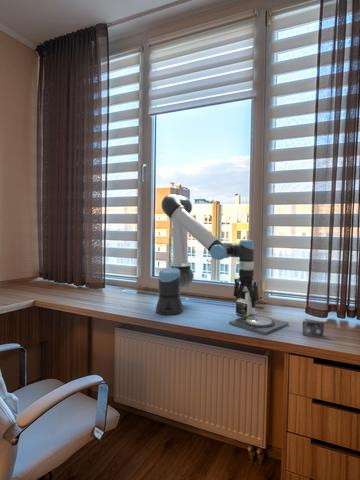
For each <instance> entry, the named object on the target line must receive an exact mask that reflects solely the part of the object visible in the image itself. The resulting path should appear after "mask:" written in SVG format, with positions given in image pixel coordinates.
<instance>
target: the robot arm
mask: <svg viewBox="0 0 360 480" xmlns="http://www.w3.org/2000/svg"><path fill="white" fill-rule="evenodd" d="M160 205H161V209H162V211H163V212H164V214H165V215H166V216H167V217H168V218H169V220H170V221H171V225H172V226H171V227H172V263H171V265H170V267H166V268H162V269H160V270H159V272H158V299H157V302H156V306H155V312H156V313H157V314H159V313H160V314H159V315H163V314H166V315H165V316H174V314H176V315H180V314H182V313H184V306H183V303H182V299H181V289H183V288H184V289H185V288H187V287H188V286H190V285H191V284H192V283H193V281H194V278H195V277H194V275H195V274H194V271H193V270H192V268H191V264H190V263H189V259H188V257H189V256H188V253H189V251H188V233H189V234H190V236H192V237H193V238H194V239H195V240H196V241H197V242H198V243H199V244H201V246H203V247H204V248H205V249H206V251H208V252H209V254H210V257H211V258H212V259H213V260H216V261H217V260H218V261H221V260H224V259H228V258H239V261H238V265H239V266H238V267H239V269H238V276H239V277H237V278H234V287H233V288H234V289H233V297H234V298H236V301H237V300H240V293H241V292H243V291H244V289H245V288H247V291H248V292H249V295H250V298H251V301H250V314H253V313H254V314H255V309H254V307H255V308H256V302H258V301H259V300H260V297H259V296H260V295H259V287H258V286H259V281H256V280H254V274H255V273H254V272H255V271H254V267H255V265H254V264H255V259H254V257H255V243H254V240H252V239H240V240H239V242H238V243H234V242H233V243H232V242H221V241H220V240H219V239H218V238H217V237H216V236H215V235H213V233H211V232H210V231H209V230H207V228H206V227H205V226H203V224H201V223H200V222H199V221H198V220H197V219H196V218H194V216H192V215H191V214H190V213H191V212H192V211H193V204H192V202H191V199H189V198H188V197H187V196H184V195H178V194H174V193H173V194H171V193H170V194H167V195H166V196H165V197H164V198H163V199H162V200H161V204H160Z"/></svg>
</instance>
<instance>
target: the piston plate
mask: <svg viewBox="0 0 360 480" xmlns="http://www.w3.org/2000/svg"><path fill="white" fill-rule="evenodd" d="M228 324H229V325H230V326H234V327H237V328H241V329H243V330H247V331H251V332H253V331H254V332H253V333H256V334H260V333H261V334H260V335H263V334H264V336H267V335H269V334H272V333H273V332H275V331H278V330H280V329H283V328H285V327H287V326H289V322H287V321H283V320H279V319H275V318H272V317H267V316H264V315H261V314H255V313H254V314H251V315H248V316H241V317H239V318H235V319H233V320H229V322H228ZM271 332H272V333H271ZM266 334H267V335H266Z"/></svg>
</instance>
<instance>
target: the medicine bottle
mask: <svg viewBox="0 0 360 480" xmlns="http://www.w3.org/2000/svg"><path fill="white" fill-rule="evenodd" d="M250 301H251V298H250V295H249V291H248V290H243V292H241V293H240V300H237V299H236V302H235V303H236V305H235V314H236V315H238V316H241V317H245V316H248V315H251V314H250ZM255 309H256V306H255V307H254V310H255ZM253 314H255V312H254V313H253Z"/></svg>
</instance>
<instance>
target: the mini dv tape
mask: <svg viewBox="0 0 360 480" xmlns="http://www.w3.org/2000/svg"><path fill="white" fill-rule="evenodd" d="M324 326H325V325H324V322H320V321H318V322H317V321H309V320H308V321H307V320H306V321H305V320H302V336H307V337H308V336H309V337H317V338H318V337H321V338H324Z"/></svg>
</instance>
